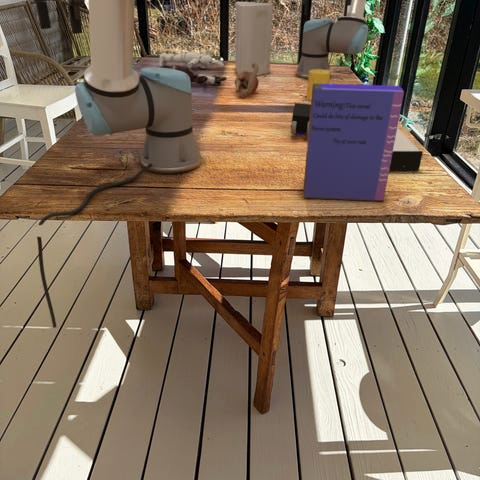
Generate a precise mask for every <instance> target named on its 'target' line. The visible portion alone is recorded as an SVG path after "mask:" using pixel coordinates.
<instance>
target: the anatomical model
mask: <svg viewBox="0 0 480 480" xmlns="http://www.w3.org/2000/svg"><path fill="white" fill-rule="evenodd" d="M252 67H253V68H254V70H253V72H249V71H245V70H243V71H241V72H240V74H239V75H238V74H237V76H236V77H235V79H234V85H235V91H234V92H235V93H238V98H241V99H242V98H243V99H245V98H246V97H247V96H248V95H250V94H252V93H253V92H256V90H257V89H258V88H259V85H260V84H259V79H258V77H257V76H258V75H257V73H258V70H259V67H258V65H257V64H256V63H253V64H252ZM256 75H257V76H256Z"/></svg>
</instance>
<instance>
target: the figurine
mask: <svg viewBox="0 0 480 480" xmlns="http://www.w3.org/2000/svg"><path fill="white" fill-rule="evenodd" d="M172 69H174V70H179V71H182V72H184V73H186V74H187V75H188V76H189V78H190V82H191V84H193V83H197V84H198V85H204V84H207V83H208V84H210V85H211V84H212V85H221V84H222V83H223V82H225V81H227V80H228V77H226V76H217V75H216V74H214V75H206V74H203V75H200V74H199V73H197V72H196V73H194V71H193V70H192V68H188V67H187V68H185V67H182V65H177V64H172Z"/></svg>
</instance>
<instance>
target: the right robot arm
mask: <svg viewBox="0 0 480 480" xmlns="http://www.w3.org/2000/svg"><path fill="white" fill-rule="evenodd" d="M366 3H367V0H344V3H343V7H342V13H341V14H340V15H339V16H338V17H337V20H336V22H333V19H332V18H328V17H327V18H316V19H310V20H307V21H305V23H304V25H303V31H302V45H301V57H300V61H299V62H298V65H297V68H296V71H295V76H296V77H297V78H300V79H307V80H308V77H309V70H313V69H323V70H328V71H330V76H331V73H332V72H331V65H330V61H329V55H330V54H329V53H331V54H332V53H333V54H342V55H343V54H344V55H349V56H350V55H359V54H360V53H361V52H362V51H363V50H364V47H365V46H366V42H367V39H368V35H369V26H368V25H367V24H366V22H367V20H366V19H365V17H364V13H365V8H366ZM301 4H302V5H304V17H305V16H306V17H307V16H308V6H309V0H301Z"/></svg>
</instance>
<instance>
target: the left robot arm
mask: <svg viewBox="0 0 480 480" xmlns="http://www.w3.org/2000/svg"><path fill="white" fill-rule="evenodd" d="M135 1H136V0H88V21H89V46H90V47H89V49H90V65H89V66H88V67H87V68H85V70H84V72H83V82H78V83H77V84H75V87H74V93H75V98H76V102H77V105H78V109H79V111H80V114H81V117H82V119H83V121H84V124H85V126H86V128H87V129H88V130H89V132H90V133H91V134H93V135H95V136H106V135H110V136H113V135H114V134H119V133H125V132H130V131H136V130H142V129H145V138H144V142H143V146H142V150H141V154H140V162H141V166H142V169H141V170H140V171H138V173H136V174H135V175H134V176H132V177H130V178H128V179H125V180H121V181H117V182H113V183H109V184H105V185H100V186H98V187H96V188H94V189H92V190H91V191H90V192H88V194H87V195H86V196H85V197H84V199H83V201H82V203H81V204H80V205H79V206H78V207H76V208H75V209H73V210H69V211H68V210H67V211H57V212H52V213H48V214H46V215H45V216H43V218H41V219H40V221H39V223H38V224H37V226H42V225H44V223H45V222H46V221H47V220H49V219H51V218H54V217H61V216H62V217H63V216H64V217H65V216H70V215H74V214H77V213H78V212H80V211H81V210H83V209H84V207H86V205H87V203H88V201H89V200H90V198H91V197H92V196H93V195H94V194H95V193H97V192H99V191H102V190H106V189H108V188H109V189H110V188H113V187H118V186H122V185H125V184H128V183H130V182H133V181H135V180H137V179H138V178H139V177H140V176H141V175H142V174H143V173H145V172H146V171H149V172H151V173H156V174H163V175H164V174H165V175H169V174H170V175H172V174H173V175H175V174H182V173H187V172H190V171H193V170H195V169H197V168H198V167H199V166H201V163H202V155H201V151H200V149H199V146H198V143H197V141H196V137H195V135H194V130H193V129H194V126H193V99H192V98H193V97H192V94H193V91H192V83H191V82H190V78H189V76H188V75H187V74H186V73H184V72H182V71H179V70H174V69H173V68H168V67H167V68H166V67H159V66H157V67H155V66H147V67H142V68H141V69H140V72H139V74H138V72H137V71H136V70H135V69H134V41H135V39H134V37H135V34H134V33H135V3H136V2H135ZM33 2H34V3H35V6H36V13H37V17H38V20H39V26H40V29H41V30H47V29H52V25H51V19H50V13H49V8H48V2H47V0H33ZM67 2H68V4H67V10H68V14H69V22H70V29H71V34H72V35H77V34H83V26H82V14H81V7H80V6H81V5H82V4H84V3H85V2H86V0H67ZM36 240H37V251H38V265H39V271H40V277H41V282H42V287H43V291H44V295H45V299H46V302H47V307H48V310H49V314H50V319H51V323H52V328H54V329H55V328H57V320H56V316H55V312H54V308H53V304H52V299H51V295H50V293H49V289H48V284H47V279H46V274H45V268H44V267H45V266H44V257H43V256H44V255H43V241H42V236H36Z"/></svg>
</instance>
